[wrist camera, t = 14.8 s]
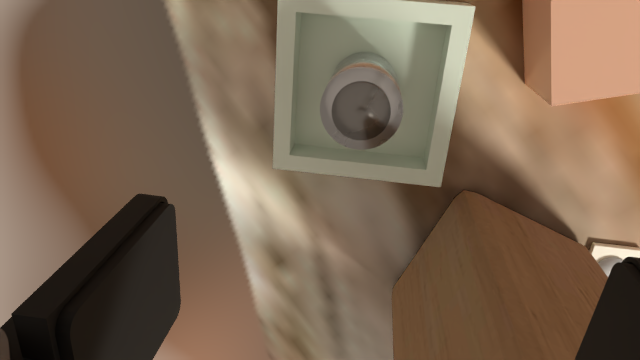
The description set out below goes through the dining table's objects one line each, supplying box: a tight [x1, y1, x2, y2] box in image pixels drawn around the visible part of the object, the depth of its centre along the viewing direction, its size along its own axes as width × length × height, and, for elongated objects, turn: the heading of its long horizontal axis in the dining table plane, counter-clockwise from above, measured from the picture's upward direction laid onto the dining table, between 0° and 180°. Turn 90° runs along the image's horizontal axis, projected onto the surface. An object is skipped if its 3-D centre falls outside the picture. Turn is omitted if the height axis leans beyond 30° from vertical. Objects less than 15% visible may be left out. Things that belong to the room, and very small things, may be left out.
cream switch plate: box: [589, 242, 640, 277], centre depth 33 cm, size 6×3×1 cm, turn 176°
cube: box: [522, 0, 640, 106], centre depth 25 cm, size 5×5×5 cm
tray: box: [273, 0, 476, 187], centre depth 28 cm, size 10×10×3 cm
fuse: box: [320, 52, 403, 150], centre depth 26 cm, size 4×4×6 cm
